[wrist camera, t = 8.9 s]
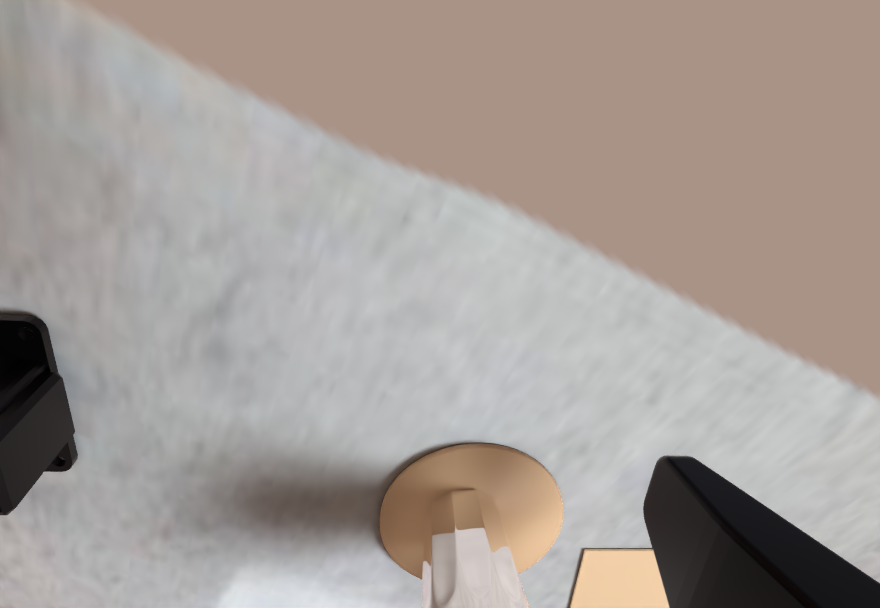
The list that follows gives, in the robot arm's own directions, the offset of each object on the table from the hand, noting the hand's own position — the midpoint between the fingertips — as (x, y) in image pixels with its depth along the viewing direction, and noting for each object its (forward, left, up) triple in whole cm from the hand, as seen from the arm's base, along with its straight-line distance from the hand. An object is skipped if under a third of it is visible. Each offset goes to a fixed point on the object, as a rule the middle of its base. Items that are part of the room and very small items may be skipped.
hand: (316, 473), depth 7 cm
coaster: (+5, -14, -13) cm, 20 cm away
